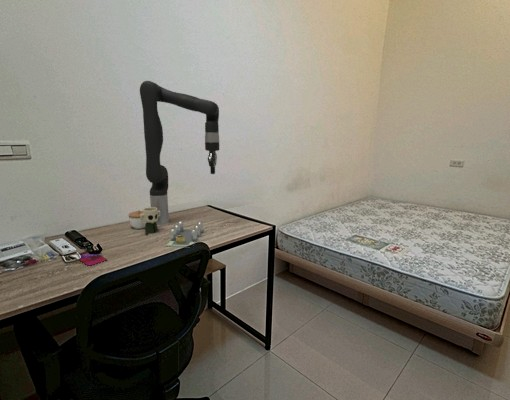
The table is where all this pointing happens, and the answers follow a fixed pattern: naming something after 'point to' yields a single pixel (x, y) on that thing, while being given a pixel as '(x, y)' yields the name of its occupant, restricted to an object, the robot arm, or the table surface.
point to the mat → (187, 239)
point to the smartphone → (91, 258)
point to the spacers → (179, 229)
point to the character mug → (150, 219)
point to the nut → (180, 239)
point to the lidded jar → (136, 220)
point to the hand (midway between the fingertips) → (212, 173)
